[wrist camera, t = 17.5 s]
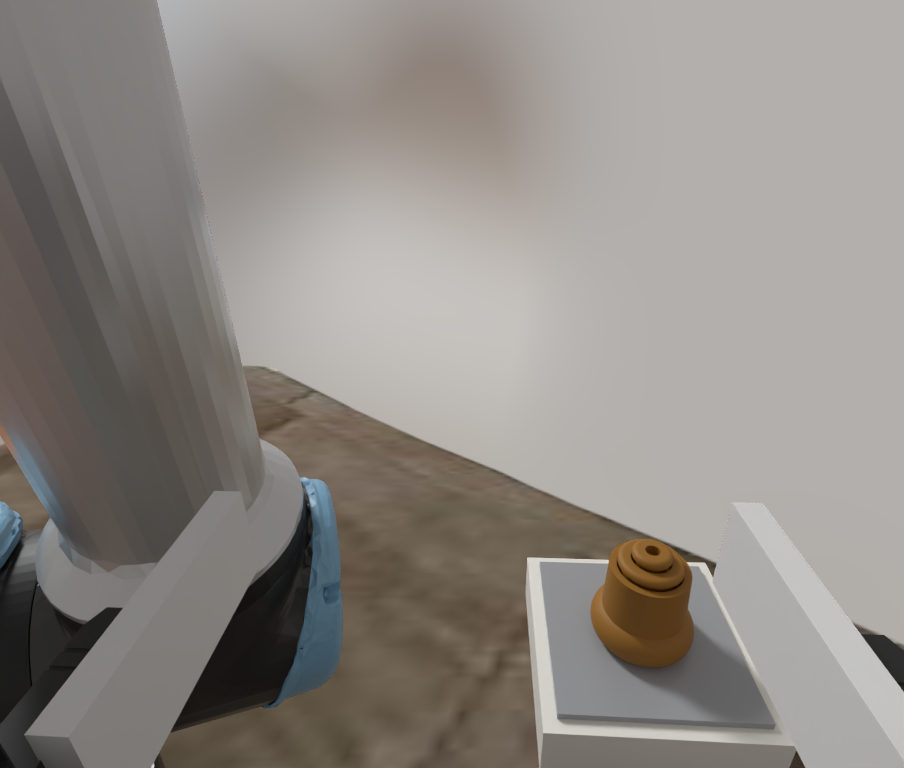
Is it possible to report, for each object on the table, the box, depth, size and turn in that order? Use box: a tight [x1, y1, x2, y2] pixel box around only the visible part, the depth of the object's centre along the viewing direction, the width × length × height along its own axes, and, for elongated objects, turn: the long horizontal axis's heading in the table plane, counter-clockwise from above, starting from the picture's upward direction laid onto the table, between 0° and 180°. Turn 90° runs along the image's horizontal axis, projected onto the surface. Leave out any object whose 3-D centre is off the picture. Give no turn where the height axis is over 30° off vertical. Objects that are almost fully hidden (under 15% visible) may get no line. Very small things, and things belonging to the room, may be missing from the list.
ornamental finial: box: [590, 539, 694, 668], centre depth 39 cm, size 8×8×8 cm
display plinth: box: [526, 558, 796, 768], centre depth 42 cm, size 16×16×5 cm
